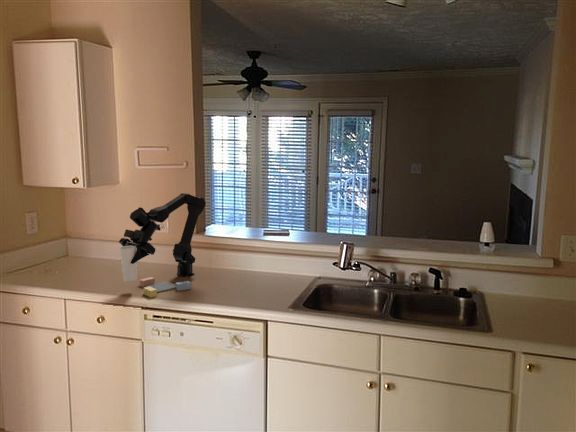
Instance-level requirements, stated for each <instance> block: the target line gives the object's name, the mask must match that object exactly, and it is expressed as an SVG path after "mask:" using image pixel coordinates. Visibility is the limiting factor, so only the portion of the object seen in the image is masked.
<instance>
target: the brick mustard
mask: <svg viewBox="0 0 576 432" xmlns="http://www.w3.org/2000/svg"><path fill="white" fill-rule="evenodd" d="M142 288H143V295H145V296H147V297H149V298H155V297H157V296H158V293H157V289H154V288H152V287H150V286H149V287H142Z"/></svg>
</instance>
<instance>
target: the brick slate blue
mask: <svg viewBox="0 0 576 432" xmlns="http://www.w3.org/2000/svg"><path fill="white" fill-rule="evenodd" d="M175 285H176V289H175V290H176V291H186V290H191V289H192V282H191V281H190V280H186V281H185V280H184V281H178V282H175Z"/></svg>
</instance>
